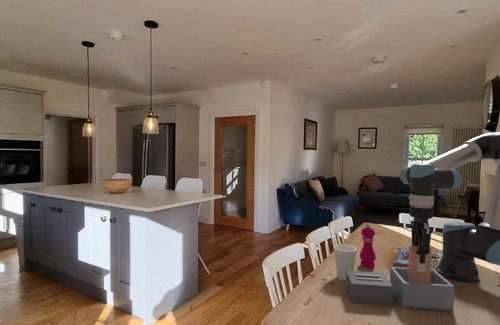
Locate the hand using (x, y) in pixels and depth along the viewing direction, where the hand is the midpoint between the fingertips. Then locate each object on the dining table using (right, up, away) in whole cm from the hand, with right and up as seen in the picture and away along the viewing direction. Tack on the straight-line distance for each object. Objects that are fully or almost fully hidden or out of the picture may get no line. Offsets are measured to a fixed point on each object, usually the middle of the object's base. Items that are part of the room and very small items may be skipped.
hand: (419, 269), depth 110 cm
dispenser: (-18, -11, +3) cm, 21 cm away
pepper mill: (-6, -10, +34) cm, 36 cm away
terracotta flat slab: (0, -6, 0) cm, 6 cm away
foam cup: (-21, -11, +20) cm, 31 cm away
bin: (0, -11, 0) cm, 11 cm away
